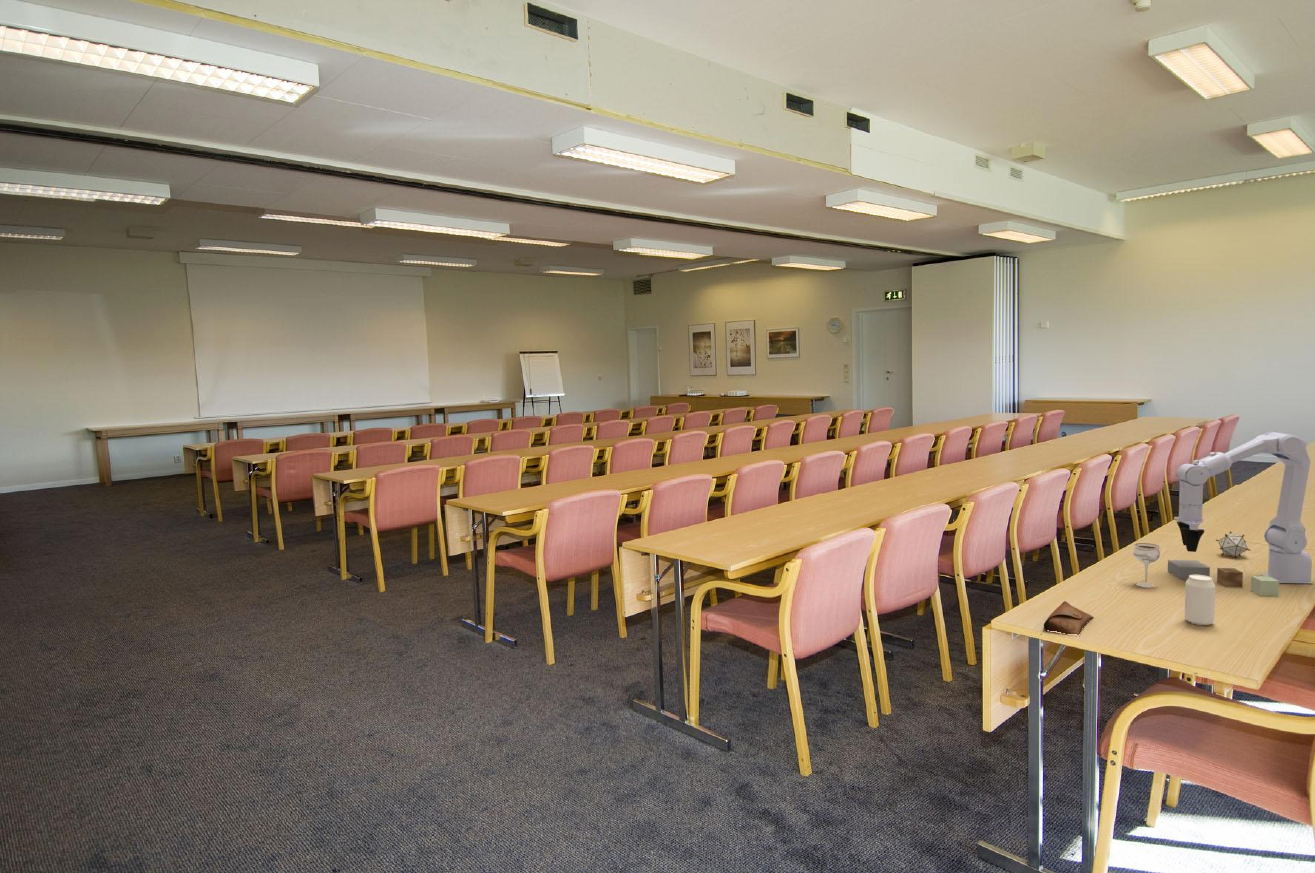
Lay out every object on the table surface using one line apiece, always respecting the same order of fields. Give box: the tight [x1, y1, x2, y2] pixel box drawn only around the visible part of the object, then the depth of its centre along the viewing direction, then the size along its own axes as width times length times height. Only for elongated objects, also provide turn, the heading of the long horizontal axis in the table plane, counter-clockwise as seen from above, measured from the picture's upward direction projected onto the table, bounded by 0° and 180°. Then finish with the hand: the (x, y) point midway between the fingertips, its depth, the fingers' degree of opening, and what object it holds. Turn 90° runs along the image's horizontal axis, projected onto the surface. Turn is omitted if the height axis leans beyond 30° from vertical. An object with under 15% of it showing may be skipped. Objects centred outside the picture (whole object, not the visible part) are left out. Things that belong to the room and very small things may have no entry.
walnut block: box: [1216, 567, 1244, 588], centre depth 223 cm, size 4×4×4 cm
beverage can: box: [1184, 575, 1216, 626], centre depth 194 cm, size 6×6×12 cm
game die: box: [1215, 531, 1252, 560], centre depth 250 cm, size 9×8×10 cm
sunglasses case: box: [1043, 600, 1094, 635], centre depth 198 cm, size 18×7×7 cm, turn 140°
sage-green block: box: [1250, 575, 1280, 597], centre depth 214 cm, size 4×4×4 cm
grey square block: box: [1167, 559, 1211, 580], centre depth 233 cm, size 8×8×4 cm
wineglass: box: [1132, 542, 1161, 589], centre depth 225 cm, size 7×7×12 cm
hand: (1189, 548), depth 228 cm, fingers open, 7 cm apart
